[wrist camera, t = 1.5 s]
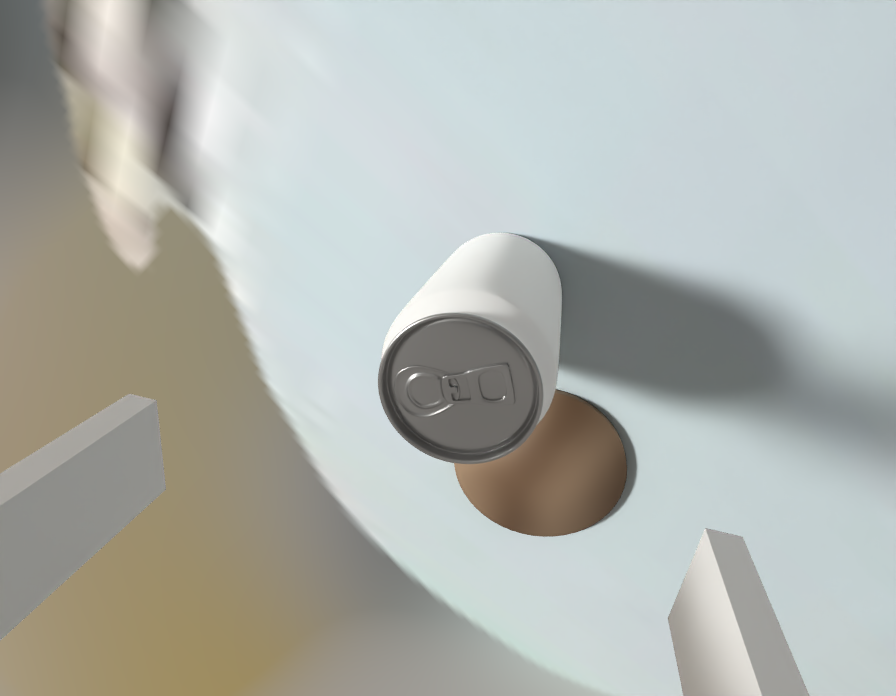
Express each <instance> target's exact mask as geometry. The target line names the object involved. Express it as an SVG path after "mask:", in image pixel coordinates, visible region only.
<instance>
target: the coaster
mask: <svg viewBox="0 0 896 696" xmlns="http://www.w3.org/2000/svg"><path fill="white" fill-rule="evenodd" d="M454 464H455V471H456V475H457V478H458V481H459V484H460V486H461V488H462V490H463V492H464V494H465V495H466V496H467V498H468V499H469V501H470V502H471V503H472V504H473V505H474V506H475V507H476V508H477V509H478V510H479V511H480V512H481V513H482V514H483V515H485V516H486V517H487V518H489V519H490V520H492V521H493V522H495V523H497V524H499V525H501V526H503V527H505V528H507V529H510V530H512V531H516V532H519V533H522V534H527V535H533V536H561V535H567V534H571V533H575V532H578V531H581V530H584V529H586V528H588V527H590V526H592V525H594V524H595V523H597V522H598V521H600V520H601V519H602V518H604V517H605V516H606V515H607V514H608V513H609V512H610V511H611V510H612V509H613V507H614V506H615V505H616V503H617V502H618V500H619V498H620V497H621V494H622V492H623V490H624V486H625V482H626V475H627V465H626V456H625V451H624V447H623V444H622V441H621V439H620V437H619V434H618V433H617V431H616V429H615V428H614V426H613V425H612V424H611V422H610V421H609V420H608V419H607V417H606V416H605V415H603V414H602V413H601V412H600V411H599V410H598V409H597V408H595V407H594V406H593V405H591V404H590V403H588V402H587V401H585V400H583V399H581V398H579V397H577V396H575V395H572V394H570V393H567V392H563V391H560V390H556V389H555V393H554V396H553V399H552V402H551V405H550V407H549V409H548V411H547V412H546V414H545V416H544V417H543V418H542V420H541V421H540V422H539V423H538V424H537V425H536V427H535V429H534V431H533V432H532V434H531V435H530V436H529V438H528V439H527V440H526V441H525V442H524V443H523V444H522V445H521V446H520V447H518V448H517V449H516V450H514V451H513V452H511V453H510V454H508V455H506V456H504V457H502V458H499V459H496V460H493V461H490V462H486V463H479V464H458V463H454Z"/></svg>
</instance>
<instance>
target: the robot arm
mask: <svg viewBox="0 0 896 696" xmlns="http://www.w3.org/2000/svg"><path fill="white" fill-rule="evenodd" d="M165 490H166V486H165V477H164V467H163V458H162V448H161V439H160V429H159V420H158V410H157V401H156V400H153V399H149V398H144V397H140V396H136V395H132V394H128V395H126V396H125V397H123V398H121V399H120V400H118V401H116V402H115V403H113V404H112V405H110V406H108V407H107V408H105V409H104V410H102V411H100V412H99V413H97V414H95V415H94V416H92V417H91V418H89V419H87V420H86V421H84V422H83V423H81V424H79V425H78V426H76V427H74V428H73V429H71V430H70V431H68V432H66V433H65V434H63V435H61V436H60V437H58V438H57V439H55V440H53V441H52V442H50V443H49V444H47V445H45V446H44V447H42V448H41V449H39V450H37V451H36V452H34V453H33V454H31V455H29V456H28V457H26V458H24V459H23V460H21V461H19V462H18V463H16V464H15V465H13V466H11V467H10V468H8V469H7V470H5V471H3V472H2V473H0V640H1V639H2V638H3V637H5V636H6V635H7V634H8V633H9V632H10V631H11V630H12V629H13V628H14V627H15V626H17V625H18V624H19V623H20V622H21V621H22V620H23V619H24V618H25V617H26V616H28V615H29V614H30V613H31V612H32V611H33V610H34V609H35V608H36V607H37V606H39V605H40V604H41V603H42V602H43V601H44V600H45V599H46V598H47V597H48V596H50V595H51V594H52V593H53V592H54V591H55V590H56V589H57V588H58V587H59V586H60V585H62V584H63V583H64V582H65V581H66V580H67V579H68V578H69V577H70V576H71V575H73V573H75V572H76V571H77V570H78V569H79V568H80V567H81V566H82V565H83V564H85V562H87V561H88V560H89V559H90V558H91V557H92V556H93V555H94V554H95V553H97V552H98V550H100V549H101V548H102V547H103V546H104V545H105V544H106V543H108V542H109V541H110V540H111V539H112V538H113V537H114V536H115V535H116V534H117V533H118V532H120V531H121V530H122V529H123V528H124V527H125V526H126V525H127V524H128V523H129V522H130V521H131V520H133V519H134V518H135V517H136V516H137V515H138V514H139V513H140V512H142V511H143V510H144V509H145V508H146V507H147V506H148V505H149V504H150V503H151V502H152V501H153V500H155V499H156V498H157V497H158V496H159V495H160V494H161V493H162V492H163V491H165ZM668 621H669V626H670V631H671V636H672V641H673V646H674V651H675V656H676V661H677V666H678V671H679V676H680V681H681V686H682V691H683V696H809V694H808V691H807V689H806V686H805V684H804V682H803V679H802V677H801V675H800V672H799V670H798V667H797V665H796V663H795V660H794V658H793V656H792V653H791V651H790V648H789V646H788V644H787V641H786V639H785V637H784V634H783V632H782V629H781V627H780V625H779V622H778V620H777V618H776V615H775V613H774V610H773V608H772V606H771V603H770V601H769V599H768V596H767V594H766V591H765V589H764V587H763V584H762V582H761V580H760V577H759V575H758V572H757V570H756V568H755V565H754V563H753V561H752V558H751V556H750V554H749V551H748V549H747V546H746V544H745V542H744V539H743V537H741V536H737V535H733V534H728V533H724V532H720V531H715V530H711V529H707V528H705V530H704V532H703V535H702V537H701V540H700V542H699V544H698V547H697V549H696V552H695V554H694V557H693V559H692V561H691V564H690V566H689V569H688V571H687V573H686V576H685V578H684V581H683V583H682V585H681V588H680V590H679V593H678V595H677V597H676V600H675V602H674V605H673V607H672V609H671V612H670V614H669V617H668Z"/></svg>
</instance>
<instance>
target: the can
mask: <svg viewBox="0 0 896 696" xmlns="http://www.w3.org/2000/svg"><path fill="white" fill-rule="evenodd" d="M561 312H562V287H561V281H560V277H559V274H558V271H557V269H556V267H555V265H554V263H553V262H552V260H551V259H550V257H549V256H548V255H547V254H546V252H545V251H544V250H542V249H541V248H540V247H539V246H538V245H536V244H535V243H533V242H532V241H530V240H528V239H526V238H524V237H521V236H518V235H515V234H510V233H489V234H484V235H481V236H478V237H475V238H473V239H471V240H469V241H468V242H466V243H464V244H463V245H462V246H460V247H459V248H458V249H457V250H456V251H455V252H454V253H453V254H452V255H451V256H450V257H449V258H448V259H447V260H446V261H445V262H444V264H443V265H442V266H441V267H440V268H439V269H438V270H437V271H436V272H435V273H434V275H433V276H432V277H431V278H430V279H429V280H428V281H427V282H426V283H425V285H424V286H423V287H422V288H421V289H420V290H419V291H418V292H417V294H416V295H415V296H414V297H413V298H412V299H411V300H410V301H409V303H408V304H407V305H406V306H405V307H404V308H403V310H402V311H401V312H400V314H399V315H398V316H397V317H396V319H395V320H394V322H393V324H392V325H391V327H390V329H389V331H388V333H387V336H386V338H385V341H384V345H383V350H382V358H381V364H380V368H379V374H378V389H379V395H380V400H381V403H382V406H383V409H384V411H385V413H386V415H387V417H388V419H389V421H390V422H391V424H392V425H393V427H394V428H395V429H396V430H397V432H398V433H399V434H400V435H401V436H402V437H403V438H404V439H405V440H406V441H408V442H409V443H410V444H411V445H413V446H414V447H415V448H417V449H418V450H420V451H422V452H423V453H425V454H427V455H429V456H432V457H434V458H437V459H440V460H443V461H447V462H451V463H458V464H479V463H486V462H490V461H493V460H496V459H499V458H502V457H504V456H506V455H508V454H510V453H511V452H513V451H514V450H516V449H517V448H518V447H520V446H521V445H522V444H523V443H524V442H525V441H526V440H527V439H528V438H529V436H530V435H531V434H532V432H533V431H534V429H535V427H536V425H537V424H538V423H539V422H540V421H541V420H542V418H543V417H544V416H545V414H546V412H547V411H548V409H549V407H550V405H551V402H552V399H553V396H554V393H555V389H556V384H557V377H558V366H559V351H560V333H561Z"/></svg>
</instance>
